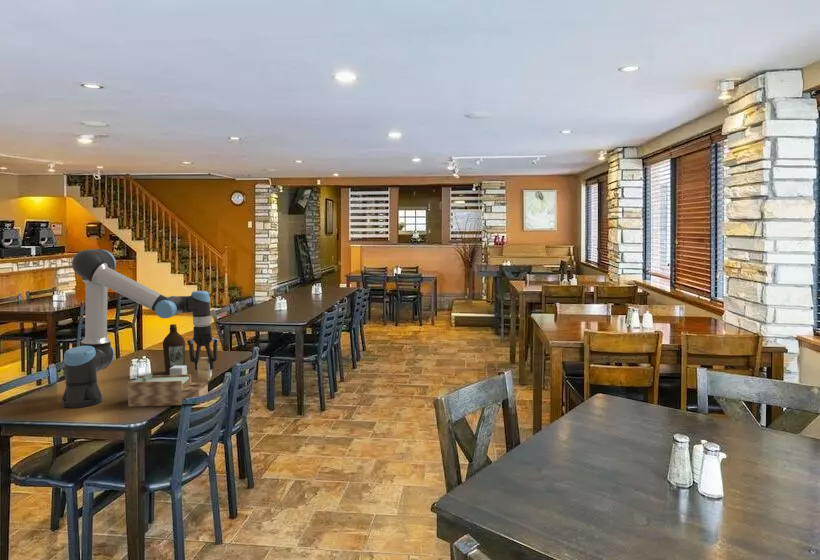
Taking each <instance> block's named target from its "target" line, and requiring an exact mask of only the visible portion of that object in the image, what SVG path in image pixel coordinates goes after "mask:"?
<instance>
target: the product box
mask: <svg viewBox="0 0 820 560" xmlns="http://www.w3.org/2000/svg"><path fill="white" fill-rule="evenodd" d="M186 374H188V366H187V365H186V364H185V365H184V366H173V367H171V368H170V375H186Z"/></svg>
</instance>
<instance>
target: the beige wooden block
mask: <svg viewBox="0 0 820 560" xmlns="http://www.w3.org/2000/svg"><path fill="white" fill-rule="evenodd" d="M208 363H209V358H208V356H207V357H203V356H202V357H199V359H198V368H199V378H198V381H199V382H210V380H211V379H212V376H211V377H209V376H208Z"/></svg>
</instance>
